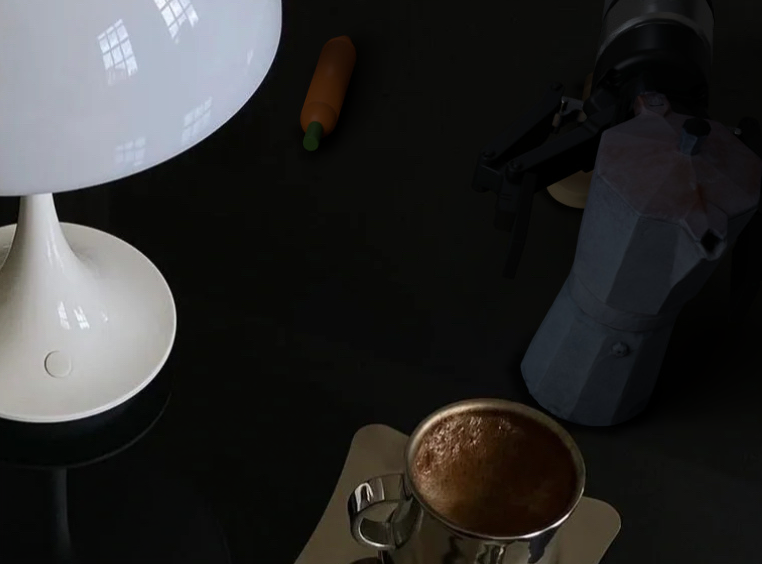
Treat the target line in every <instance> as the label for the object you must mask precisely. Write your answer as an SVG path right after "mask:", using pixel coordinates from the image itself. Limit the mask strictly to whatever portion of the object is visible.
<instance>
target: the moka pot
mask: <svg viewBox="0 0 762 564" xmlns="http://www.w3.org/2000/svg"><path fill="white" fill-rule="evenodd" d="M631 100H633V103H634V113H635V118H633V119H630V120H629V113H628V109H629V108H630V104H631ZM713 120H714V119H713ZM713 120H709V119H702V118H698V117H693V116H688V115H682V114H677V113H675V112H673V111H672V110H671V105H670V103H669V101H668V99H667V97H666V96H665V95H664V94H659V93H657V91H656V87H655V84H654V81H653V78H652V75H651V73H650V72H648V71H643V72H642V73H641V74H640V75H639V77H637V78H636V77H635V78H633V79H631V80H630V82H627V83H625V84H624V85H623V86H622V87H621V88H620V98H619V99H618V101H617V105H616V108H615V111H614V114H613V118H612V121H611V124H610V129H607V130H605V131H604V132H603V133H602V136H601V140H600V144H599V148H598V153H597V157H596V162H595V166H594V171H593V175H592V179H591V183H590V188H589V192H588V197H587V201H586V205H585V208H583V209H584V210H583V213H582V218H581V222H580V226H579V231H578V236H577V241H576V249H575V254H574V260H573V263H572V266H571V269H570V272H569V273H568V276H567V277H566V280H565V281H564V283H563V284H562V287H561V289H560V290H559V292H558V294H557V295H556V297H555V299H554V300H553V303H552V305H551V306H550V308H549V309H548V311H547V313H546V315H545V317H544V318H543V320H542V321H541V323H540V325H539V327H538V328H537V330H536V332H535V334H534V336H533V337H532V339H531V341H530V343H529V345H528V347H527V350H526V352H525V354H524V356H523V358H522V360H521V363H520V364H519V365H520V372H521V375H522V379H523V382H524V383H525V386H526V387H527V390H528V393H529V395H531V396H532V398H533V399H534V400H535V401H536V402H538V405H539V406H541V408H544V409H545V410H547V411H548V412H550V413H551V415H553V416H555V417H557V418H559V419H561V420H563V421H566V422H570V423H573V424H577V425H581V426H586V427H587V426H588V427H610V426H614V425H615V426H616V425H619V424H623V423H625V422H628V421H629V420H631V419H632V418H634V417H636V416H639V414H641V413H642V412H644V411H646V410H645V409H646V408H647V407H648V404H649V402H650V399H651V397H652V394H653V392H654V389H655V387H656V384H657V381H658V378H659V375H660V371H661V368H662V366H663V362H664V359H665V355H666V352H667V349H668V345H669V342H670V340H671V336H672V332H673V330H674V326H675V323H676V320H677V317H678V316H679V314H680V313H681V311H682V309H683V308H684V306H685V305H686V303H687V302H688V301H690V300H692V299H694V298H695V297H696V296H698V294H699V293H700V291H701V289H702V288H703V287H704V285H705V284H706V282H707V281H708V280H709V278H710V277H711V276H712V274H713V273H714V271H715V270H716V269H717V267H718V266H719V264H720V262H721V261H722V260H723V258H724V257H725V255H726V254H727V252H728V251H729V249H730V248H731V247H732V245H733V244H734V242H736V240H737V239H738V238H737V237H738V235H739V234H740V233H741V231H742V230H743V229H744V227H745V226H746V225H747V223H748V222H749V220H750V219H751V218H752V216H753V215H754V213H755V212H756V210H757V209H758V205H759V199H760V189H761V175H762V160H761V159H760V157H758V156H757V155H756V154H755V153H754V152H753V151H752V150H750V149H749V148H748V147H747V146H746V145H745V144H744V143H743V142H741V141H740V140H739V139H738V138H737V137H736V136H735V135H734V134H732V133H731V132H730V131H729V130H728V129H727V128H725V127H724V126H725V125H723V124H722V123H721V122H719V121H717V120H714V121H713Z"/></svg>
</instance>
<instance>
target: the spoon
mask: <svg viewBox="0 0 762 564" xmlns="http://www.w3.org/2000/svg"><path fill="white" fill-rule="evenodd" d="M593 73H594V71H593V72H591V73H589V74H588V75H587V76H586V78H585V80H584V84H583V90H582V97H581V100H582V101H585V100H586V99H587V98H588V97H589V96H590V91H591V85H592V78H593ZM593 171H594V170H592V171H590V172H588V173H585V172H583V171H582V170H581V171H579V172H577V173H575V174H573V175H571V176H569V177H567V178H565V179H563V180H561V181H559V182H557V183H555V184H553V185H551V186H549V187H546V190H547V192H548V194H549V195H550V196H551V197H552V198H553V199H554V200H556V201H557V202H559V203H561V204H563V205H565V206H568V207H571V208H575V209H585V205H586V201H587V197H588V192H589V188H590V183H591V179H592V175H593Z"/></svg>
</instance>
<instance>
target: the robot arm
mask: <svg viewBox="0 0 762 564" xmlns="http://www.w3.org/2000/svg"><path fill="white" fill-rule="evenodd" d="M717 2H718V0H604V5H603V10H602V11H603V12H602V18H601V25H600V31H599V38H598V44H597V49H596V56H595V62H594V67H593V72H594V73H593V72H592V73H593V78H592V85H591V91H590V96H589V97H588V98H587V99H586V100H585V101H582V99H578V98H573V97H569V96H565V95H564V93H565V90H566V87H565V85H564V84H563V83H562V82H560V81H557V80H556V81H555V80H553V81H549V82H547V83H546V85H545V87H544V90H543V93H542V96H541V98H540V99H539V100H538V101H537V102H536V103H535V104H533V105H532V106H530V108H528V109H527V110H526V111H525V112H524V113H523V114H522V115H520V116H519V117H518V118H516V119H515V120H514V121H512V123H511V124H510V125H508V126H507V127H506V128H504V129H503V130H502V131H501V132H500V133H499V134H497V135H496V136H495V137H494V138H493V139H492V140H490V141H489V142H488V143H486V145H484V146H483V147H481V149H480V150H479V153H478V157H477V161H476V165H475V168H474V172H473V176H472V180H471V185H470V186H471V188H472V190H473V191H474V192H476V193H487V192H489V191H491V192H493V193H494V194H495V195H496V196H497V199H496V201H495V206H494V209H495V213H494V217H493V223H492V224H493V226H494V229H495V230H497V231H502V232H507V233H508V232H509V235H508V241H507V246H506V250H505V256H504V262H503V266H502V272H501V278H502V279H503V278H504V279H508V280H515V277H516V274H517V271H518V269H519V265H520V261H521V257H522V255H523V253H524V252H523V251H524V248H525V245H526V241H527V236H528V231H529V225H530V219H531V215H532V207H533V202H534V196H535V194H536V193H539V192H540V191H542V190H544V189H547V187H549V186H551V185H553V184H555V183H557V182H559V181H561V180H563V179H565V178H567V177H569V176H571V175H573V174H575V173H577V172H579V171H581V170H582V171H583V172H585V173H588V172H590V171H592V170H594V166H595V162H596V157H597V153H598V148H599V144H600V140H601V136H602V133H603V132H604V131H605V130H607V129H610V124H611V121H612V118H613V114H614V111H615V108H616V105H617V101H618V99H619V98H620V88H621V87H622V86H623V85H624V84H625V83H627V82H630V80H631V79H633V78H635V77H636V78H637V77H639V75H640V74H641V73H642V72H643V71H648V72H650V73H651V75H652V78H653V81H654V84H655V87H656V91H657V93H659V94H664V95H665V96H666V97H667V99H668V101H669V103H670V105H671V110H672V111H673V112H675V113H677V114H682V115H688V116H693V117H698V118H702V119H709V120H713V121H715V120H714V119H713V117H712V116H711V114H710V113H709V106H710V105H709V104H710V93H711V80H712V65H713V59H714V57H713V55H714V34H715V33H714V31H715V30H714V29H715V23H716V10H717ZM628 113H629V120H630V119H633V118H635V113H634V103H633V100H631V104H630V108H629V109H628ZM569 123H577V128H574V129H572V130H570V131H567V132H566V133H563V134H562V135H559V136H558V137H556V138H554V139H551V140H549V141H547V140H548V139H549V137H550V135H551V134H552V135H558V134H559V133H560V131H561V128H564V127H566V125H567V124H569ZM723 126H724V127H725V128H727V129H728V130H729V131H730V132H731V133H732V134H734V135H735V136H736V137H737V138H738V139H739V140H740V141H741V142H743V143H744V144H745V145H746V146H747V147H748V148H749V149H750V150H752V151H753V152H754V153H755V154H756V155H757V156H758V157H760V159H761V160H762V130H761V124H760V121H759V120H758V119H757V118H755V117H753V116H744V117H742V118H741V119H740V120H739V123H738V125H737V127H736V126H727V125H723ZM546 141H547V142H546ZM730 265H731V267H730V281H729V282H730V283H729V302H728V320H727V322H729V323H734V324H738V325H742V323H743V321H744V319H745V317H746V315H747V313H748V312H749V310H750V308H751V306H752V304H753V302H754V300H755V298H756V296H757V294H758V292H759V290H760V289H761V282H762V175H761V189H760V199H759V205H758V209H757V210H756V212H755V213H754V215H753V216H752V218H751V219H750V220H749V222H748V223H747V225H746V226H745V227H744V229H743V230H742V231H741V233H740V234H739V235H738V237H737V238H736V241H735V243H734V246H733V247H732V250H731V264H730Z"/></svg>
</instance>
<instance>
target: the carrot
mask: <svg viewBox="0 0 762 564" xmlns="http://www.w3.org/2000/svg"><path fill="white" fill-rule="evenodd" d="M356 61H357V51H356V47H355V45H354V44H353V42H352V40H351V38H350V37H349V36H348V35H344V34H343V35H340V36H336V37H332V38H331V39H329V40H327V42H326V43H325V44H324V45H323V47H322V49H321V51H320V54H319V57H318V61H317V63H316V67H315V69H314V73H313V75H312V77H311V81H310V84H309V87H308V90H307V94H306V97H305V100H304V103H303V106H302V109H301V112H300V116H299V121H300V126H301V129H302V130H303V132H304V133H305V134H304V137H303V140H302V145H303V148H304V149H305V150H307V151H309V152H314V151H315V150H317V149H318V148H319V146H320V143H321V139H323V138H326V137H328V136H329V135H330V134H332V133H333V131H334V130H335V128H336V127H337V123H338V120H339V118H340V114H341V111H342V108H343V104H344V101H345V97H346V94H347V91H348V88H349V84H350V82H351V78H352V74H353V71H354V68H355V65H356Z"/></svg>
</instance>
